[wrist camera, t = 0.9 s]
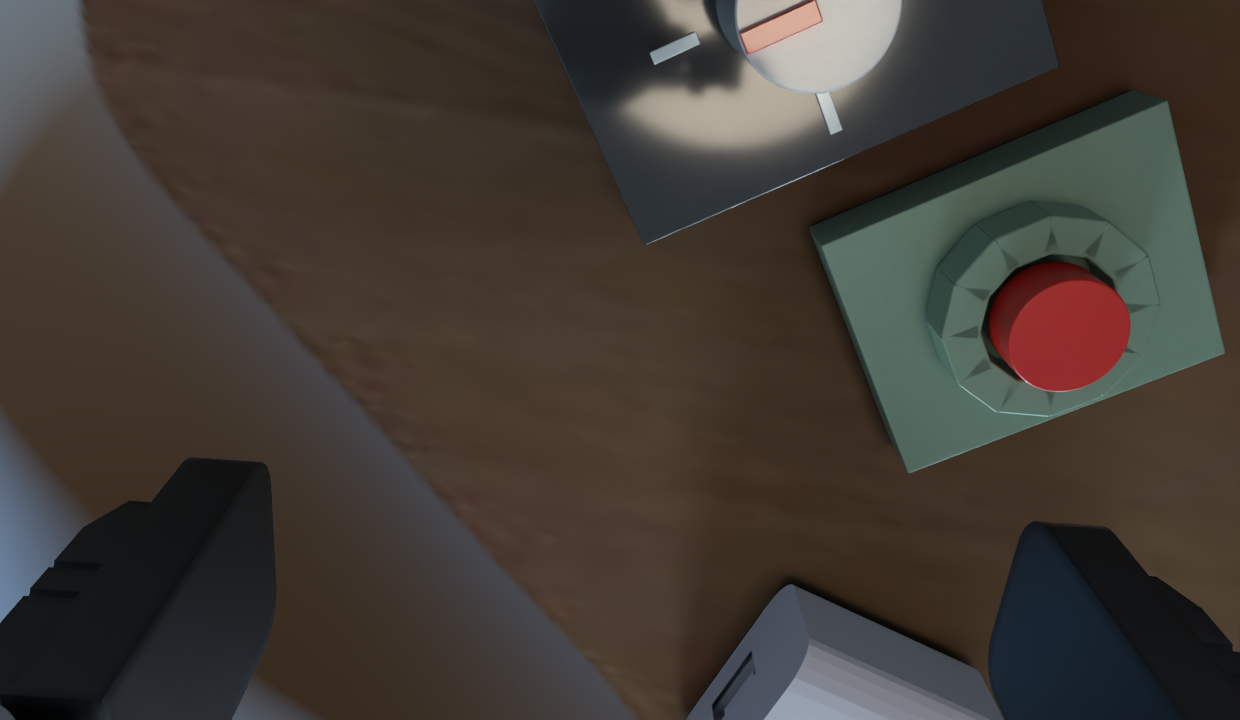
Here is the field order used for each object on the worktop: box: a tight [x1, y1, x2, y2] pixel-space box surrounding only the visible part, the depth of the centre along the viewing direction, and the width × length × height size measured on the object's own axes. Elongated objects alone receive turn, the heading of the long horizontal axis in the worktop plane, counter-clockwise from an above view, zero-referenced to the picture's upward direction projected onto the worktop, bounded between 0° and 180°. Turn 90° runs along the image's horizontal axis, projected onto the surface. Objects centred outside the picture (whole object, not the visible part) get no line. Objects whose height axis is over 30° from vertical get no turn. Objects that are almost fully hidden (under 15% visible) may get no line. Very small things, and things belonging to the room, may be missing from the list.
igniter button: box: [988, 262, 1131, 392], centre depth 31 cm, size 4×4×2 cm
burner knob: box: [716, 0, 902, 94], centre depth 26 cm, size 4×4×5 cm
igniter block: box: [809, 90, 1225, 473], centre depth 33 cm, size 11×9×4 cm
